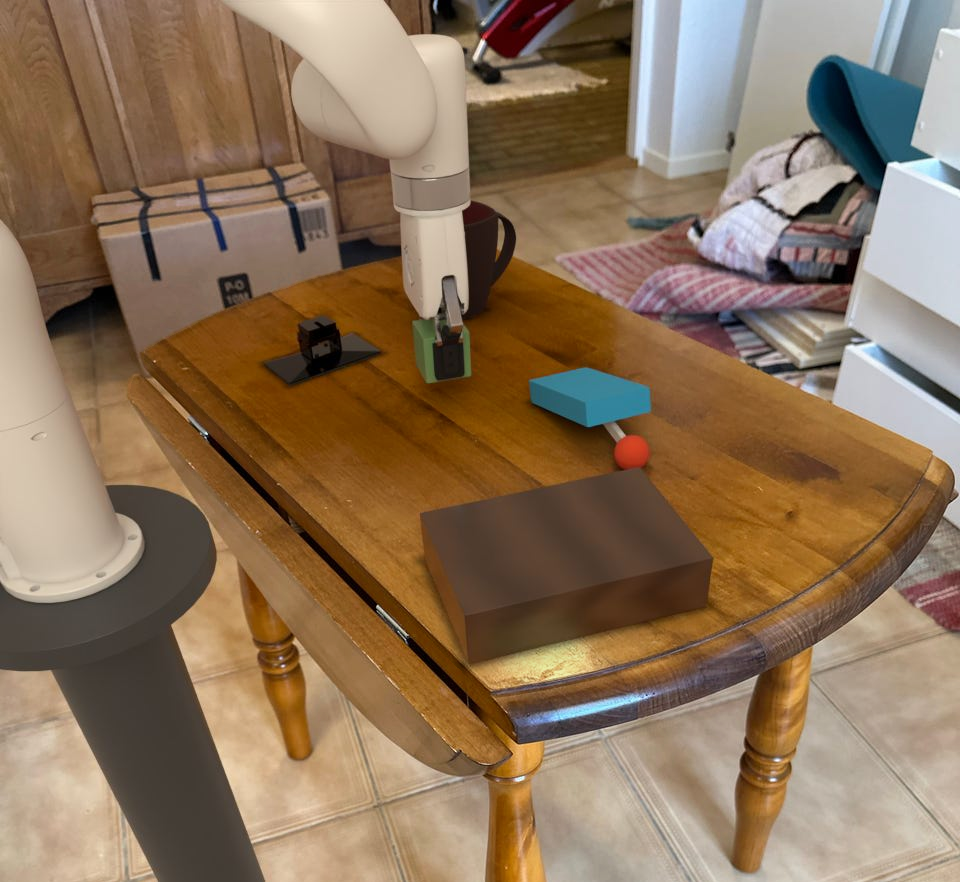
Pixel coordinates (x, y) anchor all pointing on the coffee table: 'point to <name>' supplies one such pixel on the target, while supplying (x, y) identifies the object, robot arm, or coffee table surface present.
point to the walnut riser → (562, 563)
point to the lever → (597, 406)
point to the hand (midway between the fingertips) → (442, 364)
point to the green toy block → (424, 348)
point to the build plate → (320, 351)
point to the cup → (484, 252)
